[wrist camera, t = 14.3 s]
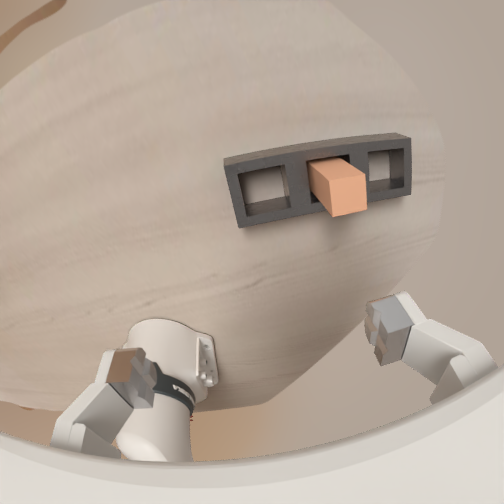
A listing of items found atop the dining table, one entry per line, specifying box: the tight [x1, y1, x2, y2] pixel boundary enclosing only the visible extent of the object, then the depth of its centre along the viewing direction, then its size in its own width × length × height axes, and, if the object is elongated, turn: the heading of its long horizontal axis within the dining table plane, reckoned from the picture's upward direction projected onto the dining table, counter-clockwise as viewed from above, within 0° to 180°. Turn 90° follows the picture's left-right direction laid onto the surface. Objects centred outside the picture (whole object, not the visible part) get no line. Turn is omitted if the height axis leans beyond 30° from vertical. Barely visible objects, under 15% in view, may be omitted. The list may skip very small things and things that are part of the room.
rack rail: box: [224, 133, 412, 228], centre depth 35 cm, size 8×24×4 cm, turn 101°
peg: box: [306, 156, 367, 217], centre depth 32 cm, size 4×4×10 cm
